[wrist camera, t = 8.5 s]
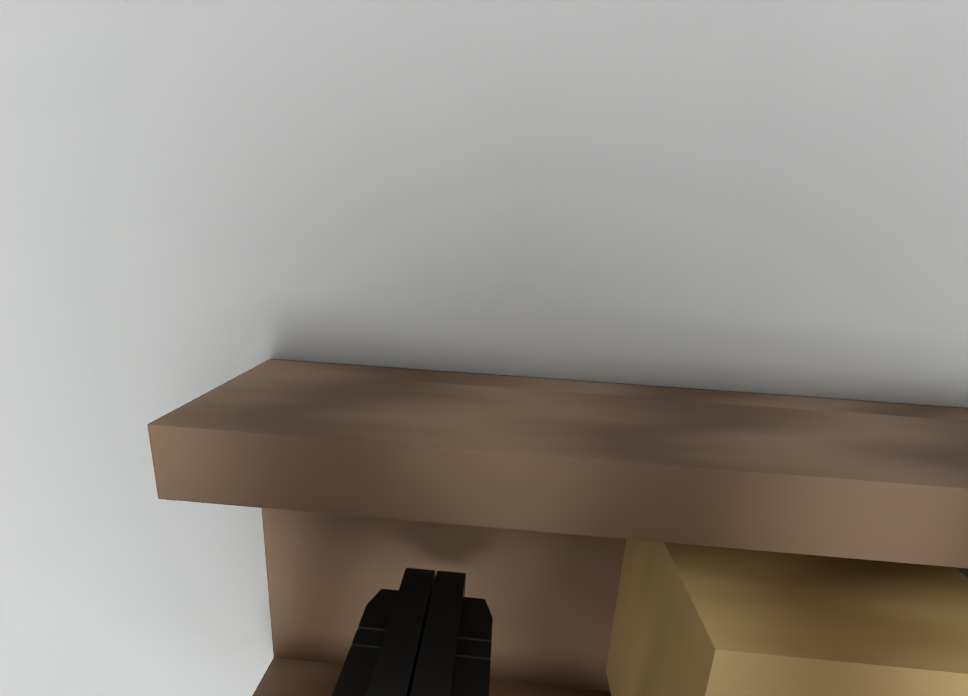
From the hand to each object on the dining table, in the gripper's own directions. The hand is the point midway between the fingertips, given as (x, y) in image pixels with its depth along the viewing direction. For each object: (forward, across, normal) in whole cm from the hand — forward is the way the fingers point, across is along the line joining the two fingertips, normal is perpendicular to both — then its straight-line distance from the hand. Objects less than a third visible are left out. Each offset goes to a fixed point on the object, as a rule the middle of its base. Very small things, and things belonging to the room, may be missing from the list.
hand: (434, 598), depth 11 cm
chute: (+3, -5, 0) cm, 5 cm away
